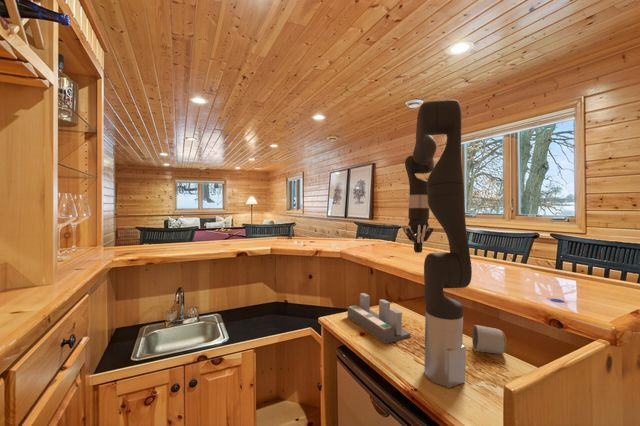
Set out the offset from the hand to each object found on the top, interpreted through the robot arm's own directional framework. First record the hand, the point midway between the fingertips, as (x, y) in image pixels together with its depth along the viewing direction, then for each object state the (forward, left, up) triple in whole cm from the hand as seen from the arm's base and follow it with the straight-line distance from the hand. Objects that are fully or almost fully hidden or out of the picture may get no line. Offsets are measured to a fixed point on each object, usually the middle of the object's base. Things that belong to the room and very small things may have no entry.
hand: (418, 252), depth 112 cm
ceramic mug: (-25, -5, -28) cm, 37 cm away
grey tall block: (-6, +15, -26) cm, 30 cm away
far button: (+13, +15, -26) cm, 33 cm away
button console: (+4, +16, -27) cm, 32 cm away
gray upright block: (+4, +13, -26) cm, 29 cm away
